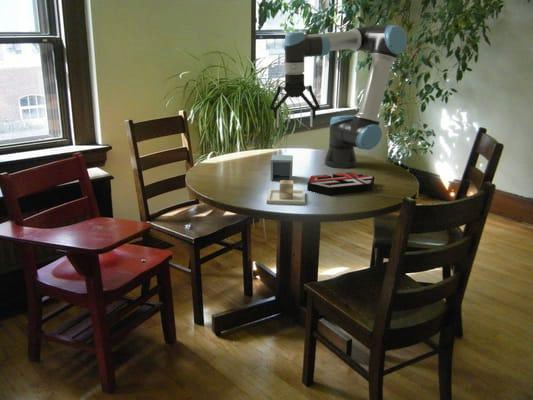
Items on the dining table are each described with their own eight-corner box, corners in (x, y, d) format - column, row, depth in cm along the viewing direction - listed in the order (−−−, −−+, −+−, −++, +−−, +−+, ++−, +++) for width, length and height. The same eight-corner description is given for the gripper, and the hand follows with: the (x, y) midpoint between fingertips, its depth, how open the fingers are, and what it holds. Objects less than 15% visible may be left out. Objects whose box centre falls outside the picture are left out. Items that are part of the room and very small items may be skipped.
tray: (304, 193, 210) (304, 190, 209) (304, 205, 196) (304, 201, 196) (269, 192, 210) (269, 189, 210) (266, 203, 197) (266, 200, 197)
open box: (292, 175, 234) (292, 155, 231) (291, 181, 225) (292, 160, 223) (271, 175, 235) (272, 154, 232) (270, 180, 226) (270, 159, 223)
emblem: (317, 198, 205) (384, 191, 215) (317, 189, 204) (385, 182, 214) (299, 185, 221) (362, 179, 231) (299, 176, 220) (363, 171, 230)
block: (293, 195, 205) (293, 180, 203) (292, 199, 201) (293, 184, 199) (280, 195, 206) (280, 180, 204) (279, 199, 201) (279, 183, 199)
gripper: (262, 74, 207) (263, 128, 214) (327, 73, 206) (326, 128, 213) (263, 72, 214) (264, 125, 221) (325, 71, 213) (324, 124, 220)
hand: (294, 126), depth 217 cm, fingers open, 13 cm apart
